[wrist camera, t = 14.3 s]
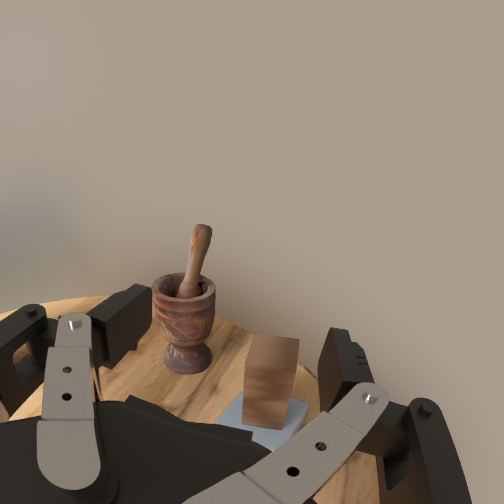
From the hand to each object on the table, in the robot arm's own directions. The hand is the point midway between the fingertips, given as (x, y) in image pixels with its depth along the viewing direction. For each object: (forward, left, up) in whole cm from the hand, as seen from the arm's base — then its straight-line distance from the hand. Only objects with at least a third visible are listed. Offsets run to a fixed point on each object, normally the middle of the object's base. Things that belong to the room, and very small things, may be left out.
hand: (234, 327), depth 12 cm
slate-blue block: (-4, +10, -24) cm, 26 cm away
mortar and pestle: (-22, +13, -23) cm, 35 cm away
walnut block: (-4, +10, -20) cm, 22 cm away
